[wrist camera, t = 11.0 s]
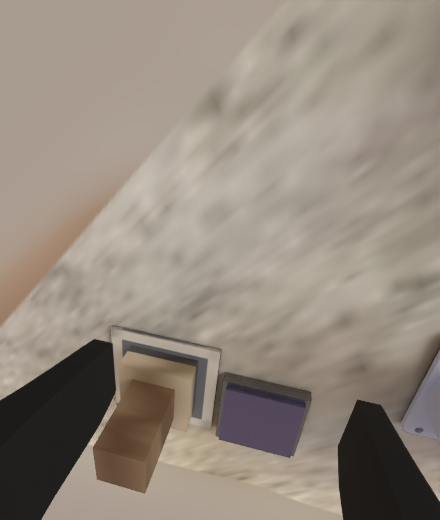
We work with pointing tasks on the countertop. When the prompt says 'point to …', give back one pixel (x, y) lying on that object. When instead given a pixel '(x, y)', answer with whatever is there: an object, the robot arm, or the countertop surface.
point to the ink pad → (262, 414)
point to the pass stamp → (145, 415)
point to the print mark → (203, 354)
